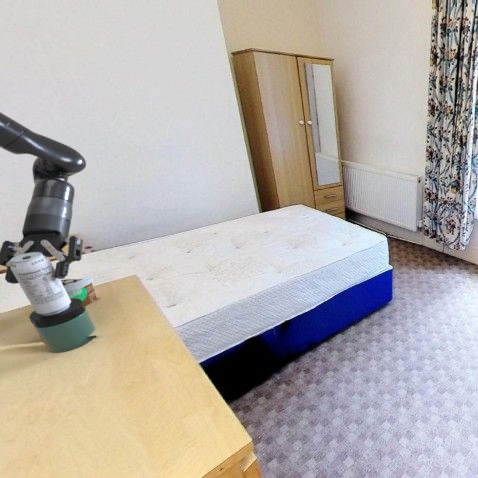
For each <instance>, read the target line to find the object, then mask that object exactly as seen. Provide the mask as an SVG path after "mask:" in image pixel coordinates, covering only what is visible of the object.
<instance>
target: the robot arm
mask: <svg viewBox="0 0 478 478" xmlns="http://www.w3.org/2000/svg"><path fill="white" fill-rule="evenodd" d="M0 148H1V149H3V150H5V151H6V152H9V153H11V154H14V155H31V156H34V157H36V158H35V160H34V161H33V164H32V180H33V184H34V186H33V190H32V193H31V199H30V201H29V204H28V206H27V209H26V214H25V218H24V222H23V227H22V231H21V233H22V239H21V240H20V241H10V240H4V241H3V242H2V244H1V247H0V266H2V267H5V268H7V269H6V273H5V276H4V280H5V281H6V282H7V283H8V284H12V285H15V284H19V282H18V281H17V279H16V277H15V275H14V274H13V272H12V270H11V269H10V266H11V263H12V262H11V259H12V258H14V257H16V256H19V255H22V254H26V253H32V252H41V253H42V255H44V256H46V257H48V258H55V259H56V260H57V262H56V264H55V268H54V269H55V274H54V277H55V278H58V279H60V280H65V278H66V277H67V276H68V275H69V270H70V264H72V263H74V262H80V261H81V260H82V255H83V254H82V253H83V243H84V242H83V239H82V238H79V237H78V236H75V235H71V236H69V234H70V230H71V225H72V218H73V204H74V200H75V191H76V190H75V187H74V186H73V185H72V184H71V183H70V182H68V180H69V178H70V177H72V176H74V175H76V174H79V173H80V172H83V171H84V170H85V169H86V168H87V160H86V159H85V157H84V156H83V155H82V154H81V153H80V152H79V151H77V150H76V149H74V148H73V147H71V146H70V145H67V144H65V143H63V142H60V141H58V140H55V139H53V138H50V137H48V136H45V135H43V134H40V133H38V132H35V131H33V130H31V129H30V128H28V127H26V126H25V125H23V124H22V123H20V122H18V121H16V120H15V119H13V118H12V117H9V116H8V115H6V114H4V113H3V112H1V111H0ZM66 246H68V252H67V253H66V252H65V251H64V248H66Z"/></svg>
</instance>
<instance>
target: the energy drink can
mask: <svg viewBox="0 0 478 478" xmlns="http://www.w3.org/2000/svg"><path fill="white" fill-rule="evenodd" d="M11 262H12V263H11V266H10V269H11V270H12V272H13V274H14V275H15V277H16V279H17V281H18V282H19V283H18V284H19V286H20V288H21V289H22V291H23V293H24V294H25V296H26V298H27V299H28V301H29V303H30V304H31V306H32V308H33V310H34V311H36V313H38V314H41V315H44V316H48V315H53V314H57V313H60V312H62V311H64V310H66V309H67V308H68V307H69V306H70V305H69V304H70V303H71V300H70V298H69V296H68V294H67V292H66V290H65V288H64V286H63V285H62V283H61V281H60V280H61V279H58V278H55V277H54V274H55V268H54V266H53V263H52V262H51V259H50V257H46V256H44V255H42V253H41V252H32V253H25V254H22V255H19V256H16V257H14V258H12V259H11Z"/></svg>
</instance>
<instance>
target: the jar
mask: <svg viewBox="0 0 478 478" xmlns="http://www.w3.org/2000/svg"><path fill="white" fill-rule="evenodd" d="M33 327H34V330H36V332H37V334H38V335H39V337H40V339H41V341H42V342H43V344H44V345H45V347H46V349H47V350H48V351H49V352H50V353H54V354H59V353H60V354H61V353H65V352H70V351H73V350H75V349H77V348H81V347H83V346H84V345H87V344H88V343H90V342H91V341H93V339H95V338H96V336H97V335H92V334H93V333H94V332H95V330H96V326H95V324H94V322H93V320H92V317H91V316H90V314H89V311H88V310H87V307H85V310H84V311H83V312H82V313H81V314H80V315H78V316H77V317H75V318H73V319H71V320H68V321H66V322H63V323H60V324H57V325H53V326H47V327H37V326H34V325H33Z"/></svg>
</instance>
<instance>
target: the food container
mask: <svg viewBox="0 0 478 478" xmlns="http://www.w3.org/2000/svg"><path fill="white" fill-rule="evenodd" d="M60 281H61V283H62V285H63V286H64V288H65V290H66V292H67V294H68V296H69V298H70V299H71V298H77V299H80V300H82V302H83V303H84V305H85V307H86V306H89V305H91V304H92V303H94V302H96V301H97V300H98V297H97V295H96V291H95V288H94V285H93V283H94V282H95V280H94V279H93V278H92V276H90V275H87V276H86V277H84V278H79V279H75V278H74V279H70V278H68V279H60Z"/></svg>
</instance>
